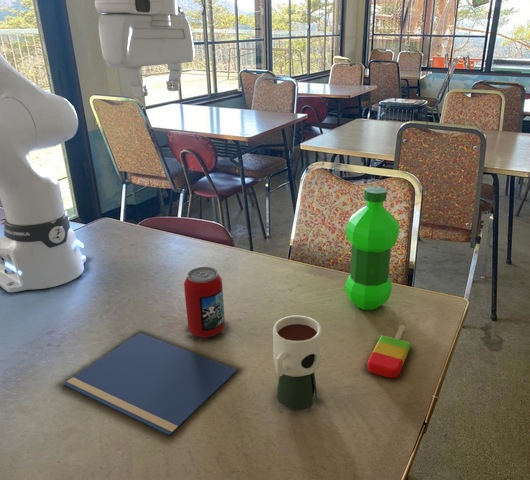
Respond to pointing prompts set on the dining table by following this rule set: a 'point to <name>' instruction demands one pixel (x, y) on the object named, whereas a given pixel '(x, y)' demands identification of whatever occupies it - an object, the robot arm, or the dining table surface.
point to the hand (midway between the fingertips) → (158, 93)
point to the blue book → (152, 382)
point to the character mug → (296, 360)
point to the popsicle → (389, 355)
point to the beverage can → (204, 302)
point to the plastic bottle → (371, 251)
